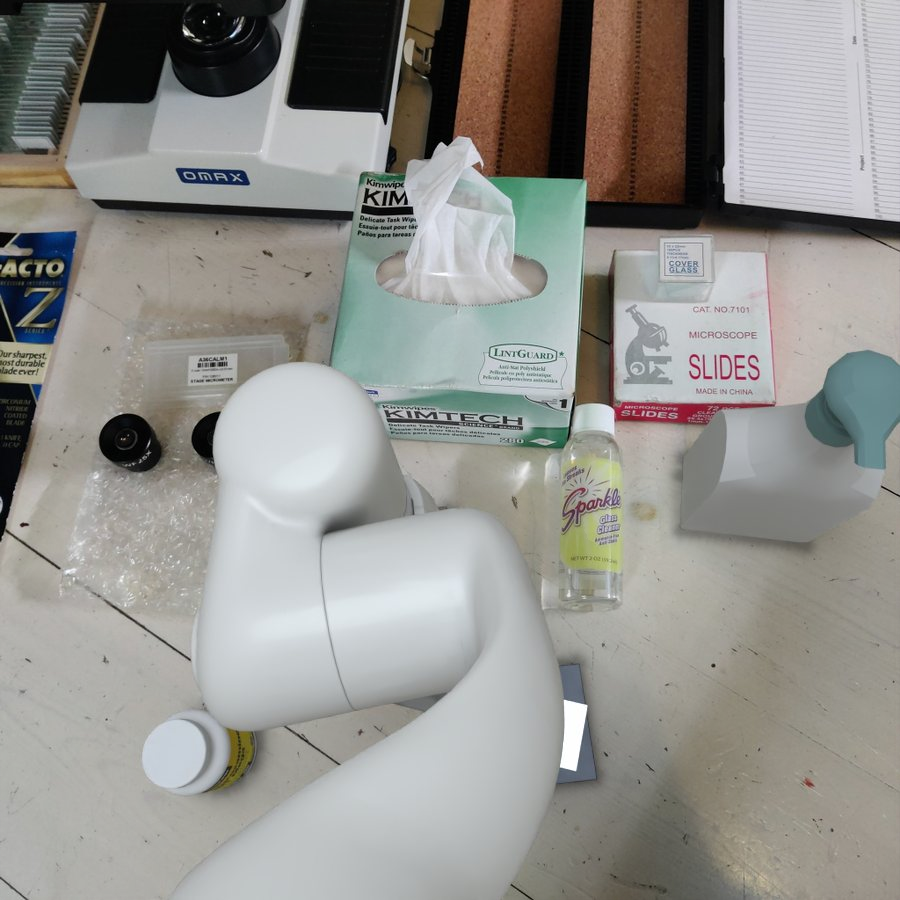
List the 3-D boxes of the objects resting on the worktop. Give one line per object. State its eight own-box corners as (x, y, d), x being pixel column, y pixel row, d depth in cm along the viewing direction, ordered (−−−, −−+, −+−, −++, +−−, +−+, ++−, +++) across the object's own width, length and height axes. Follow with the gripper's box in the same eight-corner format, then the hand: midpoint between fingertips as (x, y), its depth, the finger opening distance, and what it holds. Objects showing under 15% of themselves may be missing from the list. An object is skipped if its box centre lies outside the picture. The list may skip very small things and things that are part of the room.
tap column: (595, 778, 66) (632, 800, 48) (485, 790, 66) (480, 817, 48) (577, 664, 69) (606, 645, 51) (472, 676, 69) (463, 661, 51)
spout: (578, 706, 51) (588, 704, 45) (567, 766, 50) (576, 772, 44) (384, 659, 52) (371, 652, 47) (370, 716, 51) (355, 716, 46)
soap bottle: (677, 548, 71) (781, 451, 45) (681, 459, 74) (782, 319, 48) (806, 563, 70) (988, 473, 44) (805, 473, 73) (978, 336, 47)
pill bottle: (241, 799, 67) (194, 814, 56) (174, 773, 68) (115, 783, 57) (270, 724, 68) (229, 725, 58) (204, 699, 69) (152, 696, 59)
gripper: (211, 591, 44) (293, 633, 61) (484, 559, 44) (489, 610, 61) (211, 461, 47) (289, 537, 64) (468, 430, 46) (477, 514, 64)
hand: (386, 572), depth 62 cm, fingers closed
